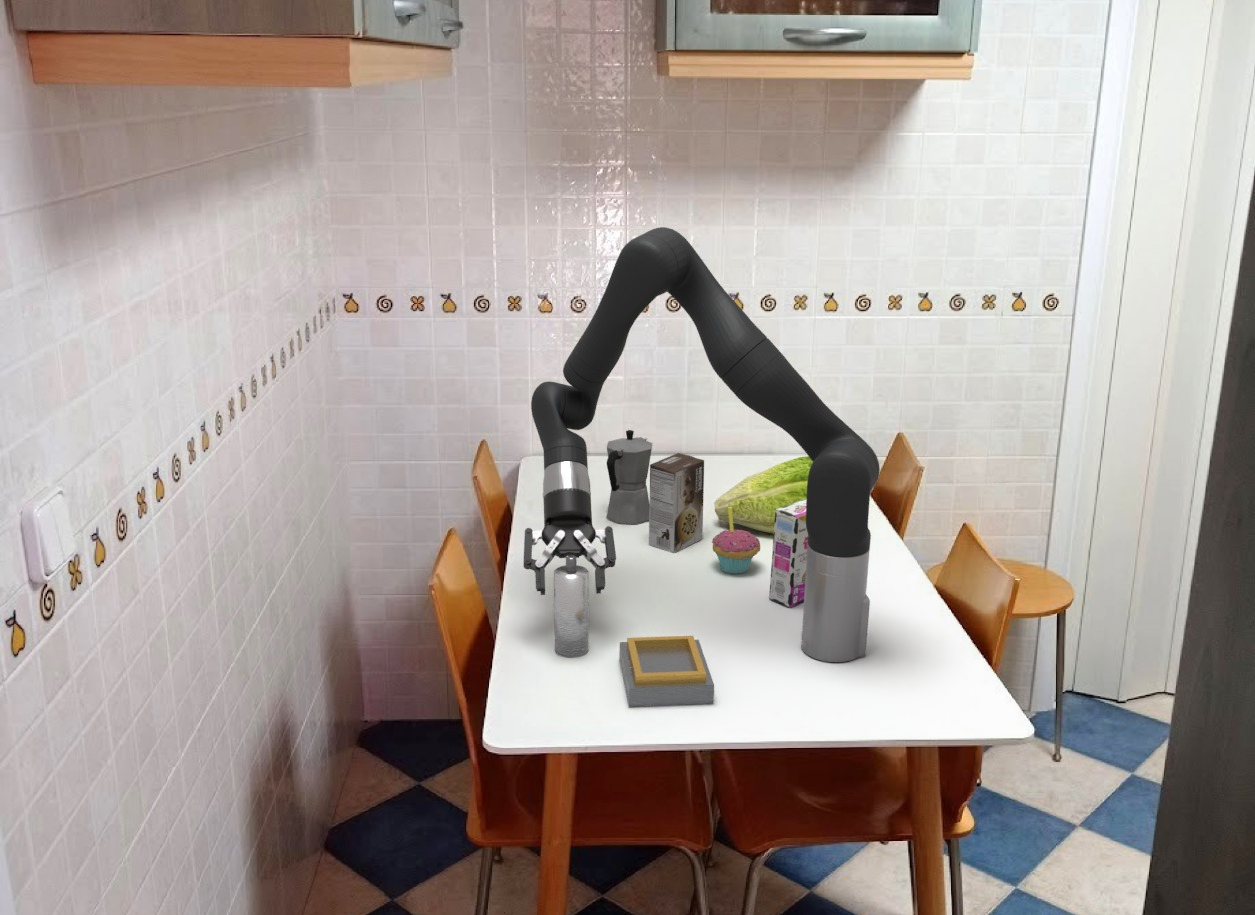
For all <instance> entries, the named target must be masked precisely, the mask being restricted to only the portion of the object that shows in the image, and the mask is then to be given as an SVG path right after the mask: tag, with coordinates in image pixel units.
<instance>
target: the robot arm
mask: <svg viewBox="0 0 1255 915" xmlns="http://www.w3.org/2000/svg"><path fill="white" fill-rule="evenodd" d="M607 282H608V283H607V285H606V288H605V291H603V292H604V293H603V295H602V297H601V300H600V301H599V303H598V306H597V308H596V311H595V313H594V314H593V315H592V318H591V320H590V321H589V323H588V325H587V326H586V328H585V330H584V332H583V333H582V335H581V336H580V337H579V339H578V341H577V343H576V344H575V346H574V348H573V349H572V351H571V352H570V354H569V356H568V357H567V359H566V361H565V363H564V365H563V370H562V372H563V374H562V375H563V376H564V379H565V381H566V382H567V383H568V384H570V385H568V384H564V383H559V382H556V381H543V382H542V383H540V384H539V385H538V386H537V387H535V390H534V391H533V394H532V396H531V402H530V404H531V405H530V409H531V410H530V411H531V415H532V420H533V422H534V425H535V427H536V430H537V434H538V437H539V440H540V443H541V446H542V450H543V471H544V472H543V479H542V480H543V481H542V482H543V483H542V486H543V487H542V490H543V492H542V498H543V522H544V523H543V524H544V526H543V529H542V530H533V529H532V528H530V527H526V528H525V530H524V538H523V539H524V542H523V568H524V569H526V570H532V571H534V573H535V574H534V575H535V589H536V592H540V596H546V574H545V572H546V571H545V568H546V567H547V566H548V565H550V563H552V560H554V558H555V557H557V558H558V559H566V556H568V555H574V556H576V557H577V559H578V558H580V557H582V556H583V558H585V560H587V561H588V562H589V563H590V564H591V566H592V567H594V568H595V570H594V579H595V580H594V581H595V594H596V595H597V594H602V591H604V590H605V587H606V572H605V571H606V569H608V568H614V567H615V565H616V561H617V552H616V546H615V545H616V544H615V537H614V530H613V527H612V526H610V525H608V526H606V527H605V528H603V529H600V528H599V529H595V527H594V525H593V516H592V515H593V514H592V493H591V492H592V491H591V481H590V480H591V479H590V476H589V466H588V451H587V450H588V448H587V443H586V440H585V439H584V438H583V437H582V436H581V435H579V434H577V433H576V432H574V431H579V430H581V431H582V430H583V429H585V428H586V427H588V426H589V425H590V424H592V421H593V420H594V417H595V415H596V410H597V405H598V401H599V398H600V395H601V391H602V389H603V386H604V383H605V382H606V381H607V379H608V377H610V374H611V373H612V371H613V370H614V368H615V367H616V365H617V364H618V362H619V360H620V358H621V357H622V354H623V352H624V350H625V346H626V344H627V340H628V337H629V333H630V331H631V329H632V326H633V325H634V323H635V322H636V320H637V319H638V317H639V316H640V315H641V313H642V312H643V311H644V310H645V309H646V308H647V307H648V306H649V305H650V304H651V303H652V302H653V301H654V300H655V299H656V298H657V297H659V296H662V295H663V294H666V293H668V294H669V295H670V296H671V297H672V298H673V299H674V301H676V302H677V304H679V305H680V307H681V308H683V310H684V311H685V313H686V314H687V315H688V317H689V318H690V319H691V320H692V323H693V324H694V326H695V328H696V330H697V333H698V335H699V338H700V341H701V344H702V346H703V350H704V352H705V355H706V357H707V359H708V362H709V363H710V365H711V368H712V369H713V371H714V372H715V373H716V375H717V376H718V377H719V379H721V382H722V381H723V383H724V384H725V385H726V386H727V387H728V388H729V389H730V391H731V392H732V393H733V394H734V395H735V397H736V398H737V399H739V400H740V401H741V402H742V403H743V404H744V405H745V406H747V407H748V408H749V409H750V410H752V411H753V412H754V413H757V414H758V415H760V416H762V417H763V418H764V419H766V420H768V421H769V422H771V423H773V424H774V425H776V426H777V427H779V428H780V429H782V430H783V431H784V432H786V433H787V434H788V435H789V436H790V437H791V438H793V439H794V441H795V442H796V443H797V444H798V445H799V446H800V448H801V449H802V450H803V451H804V453H806V455H807V456H809V457H810V459H811V460H812V461H813V463H812V465H811V467H810V470H809V475H808V482H807V499H806V529H807V532H808V547H807V563H806V578H805V594H804V601H803V612H802V627H801V641H800V644H801V645H800V647H801V650H802V652H804V653H805V654H806V656H809V657H811V658H813V659H816V660H817V661H818V660H819V661H822V662H827V663H828V662H829V663H844V662H850V661H853V660H855V659H857V658H860V657H861V658H862V657H863V658H864V657H866V652H867V640H868V628H869V617H870V604H871V603H870V602H871V601H870V600H871V599H870V598H869V597H868V595H867V587H868V586H867V585H868V574H869V563H870V562H869V561H870V550H871V538H872V535H871V533H872V532H871V531H870V529H869V514H870V501H871V500H870V498H871V492H872V490H873V488H874V487H875V485H876V483H877V482H878V480H879V477H880V463H879V459H878V456H877V455H876V454H877V453H876V452H875V451H874V450H873V447H871V446H870V445H869V443H867V441H866V440H864V439H863V438H862V437H861V436H860V435H859V434H857V432H855V430H853V429H852V428H851V427H850V426H849V425H847V424H846V422H844V421H843V420H842V419H841V418H840V417H839V416H838V415H836V413H834V412H833V410H832V409H830V407H828V405H827V404H825V402H823V401H822V399H821V398H820V397H819V396H818V395H817V393H816V392H815V390H814V389H813V388H812V387H811V386H810V385H809V383H808V382H807V381H806V380H805V379H804V378H803V376H802V375H801V374H800V373H799V372H798V371H797V370H796V369H795V367H794V366H792V364H791V363H790V361H789V360H788V359H787V358H786V357H785V355H784V354H783V353H782V352H781V351H780V350H779V349H778V348H777V346H775V344H774V343H773V342H772V341H771V340H770V339H769V337H768V336H767V335H766V334H765V333H763V331H762V330H760V328H759V327H758V326H756V324H755V323H754V322H753V321H752V319H751V318H750V317H749V316H748V315H747V314H746V312H744V310H743V309H742V308H741V307H740V306H739V305H738V304H737V302H736V301H735V300H734V299H733V298H732V297H731V295H729V294H728V293H727V291H726V290H725V289H724V288H723V287H722V285H721V284H720V283H719V281H718V280H717V278H715V276H714V274H713V273H712V271H710V269H709V268H708V266H707V265H706V264H705V262H704V260H703V259H702V258H701V257H700V254H698V252H697V250H695V249H694V247H693V245H692V244H691V243H690V242H689V241H688V239H687V238H685V236H683V235H682V234H681V233H680V232H679V231H677V230H675V229H673V228H669V227H663V226H662V227H660V226H659V227H655V228H652V229H650V230H648V231H647V232H645V233H642V234H640V235H638V236H636V237H634V238H632V239H631V240H630V241H628V242H627V243H626V244H625V245H624V246H623V247H622V249H621V250H620V253H619V255H618V257H617V259H616V261H615V264H614V267H613V269H612V270H611V274H610V277H609V280H608V281H607ZM572 430H573V431H572ZM597 538H598V539H599V542H600V543H601V544H604V545H605V546H604V547H605V554H606V555H605V557H604V558H603V557H602V556H601V555H600V554H599V552H598V551H597V549H596V547H594V545H593V542H594V541H595V539H597ZM539 540H542V542H543V543H544V544H545V545H546V547H545V548H544V550H543V552H542V553H541V554H540V556H539V557H538V558H537V559H535V558H533V557H532V556H533V553H532V552H533V546H536V545H537V544H538V542H539Z"/></svg>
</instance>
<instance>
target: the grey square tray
mask: <svg viewBox="0 0 1255 915" xmlns="http://www.w3.org/2000/svg"><path fill="white" fill-rule="evenodd" d="M618 658H619V665H620V670H621V674H622V679H623V686H624V690H625V694H626V700H627V704H628V708H643V707H645V708H646V707H665V706H692V705H693V706H694V705H714V702H715V701H714V700H715V698H714V695H715V683H714V680H713V678H712V675H711V672H710V668H709V666H708V663H707V660H706V657H705V654H704V652H703V648H702V646H701V643H700V639H695V636H694V635H674V636H673V635H671V636H667V635H666V636H644V637H643V636H642V637H641V636H640V637H639V636H638V637H627V638H626V641H622V642H621V641H620V642H619V656H618Z"/></svg>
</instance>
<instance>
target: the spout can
mask: <svg viewBox="0 0 1255 915" xmlns="http://www.w3.org/2000/svg"><path fill="white" fill-rule="evenodd" d="M577 559H578V558H577V557H576V556H574V555H568V556H566V558H565V565H562V566H559V567H556V568H555V569H554V570H553V595H554V596H553V601H554V602H553V603H554V604H553V608H554V610H553V611H554V615H553V616H554V621H553V622H554V652H555V654H556V655H557V656H560V657H563V658H571V659H572V658H573V659H574V658H579V657H583V656H585V655H586V654H588V652H589V647H590V646H589V633H590V632H589V622H590V621H589V616H590V615H589V611H590V610H589V604H590V603H589V592H590V591H589V590H590V588H589V584H590V583H589V578H590V577H589V570H588V568H586V567H584V566H582V565H577V561H578V560H577Z"/></svg>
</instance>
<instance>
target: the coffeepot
mask: <svg viewBox="0 0 1255 915" xmlns="http://www.w3.org/2000/svg"><path fill="white" fill-rule="evenodd" d="M634 433H635V431H634V430H632V429H628V430H625V434H626V435H625V437H624V438H623V437H621V438H617V439H614V440H609V441H608V442H607V445H606V451H607V460H606V467H607V472H608V477H609V484H610V488H611V489H610V494H609V495H610V496H609V499H608V500H609V501H608V506H607V511H606V512H607V513H606V519H607V520H608V521H610V522H612V523H615V524H618V525H627V526H630V525H631V526H632V525H633V526H634V525H640V524H644V523H647V522H649V506H650V497H649V492H648V486H647V479H648V474H649V470H650V462H651V455H652V450H653V442H650V441H647V440H648V438H644V437H638V436H637V437H634Z"/></svg>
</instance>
